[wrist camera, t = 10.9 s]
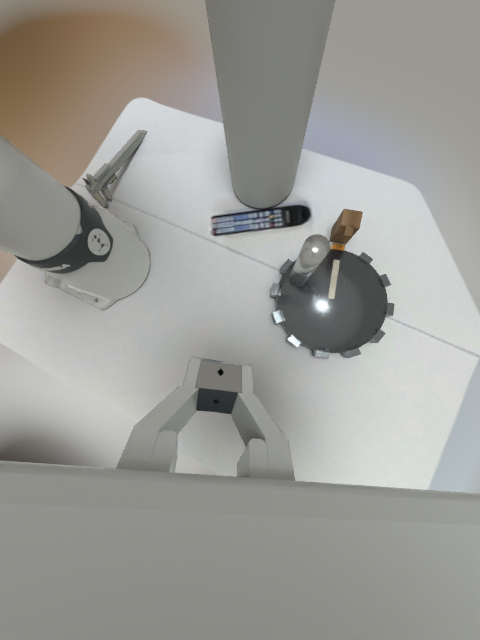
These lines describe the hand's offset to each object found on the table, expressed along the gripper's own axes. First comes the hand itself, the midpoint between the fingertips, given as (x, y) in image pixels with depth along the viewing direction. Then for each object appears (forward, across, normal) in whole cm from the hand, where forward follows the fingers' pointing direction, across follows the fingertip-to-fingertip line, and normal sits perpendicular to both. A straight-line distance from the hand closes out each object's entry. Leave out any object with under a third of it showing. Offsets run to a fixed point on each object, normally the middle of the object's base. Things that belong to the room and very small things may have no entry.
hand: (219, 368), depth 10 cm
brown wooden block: (+33, -20, -2) cm, 39 cm away
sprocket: (+24, -18, +8) cm, 31 cm away
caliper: (+49, +26, -4) cm, 56 cm away
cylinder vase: (+43, -4, -7) cm, 44 cm away
